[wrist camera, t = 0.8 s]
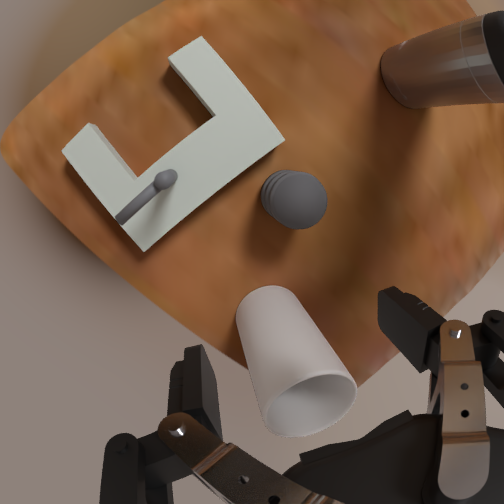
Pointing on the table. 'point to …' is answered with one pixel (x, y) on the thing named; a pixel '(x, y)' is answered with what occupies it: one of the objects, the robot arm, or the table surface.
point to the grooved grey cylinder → (294, 198)
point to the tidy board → (179, 152)
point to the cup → (291, 365)
